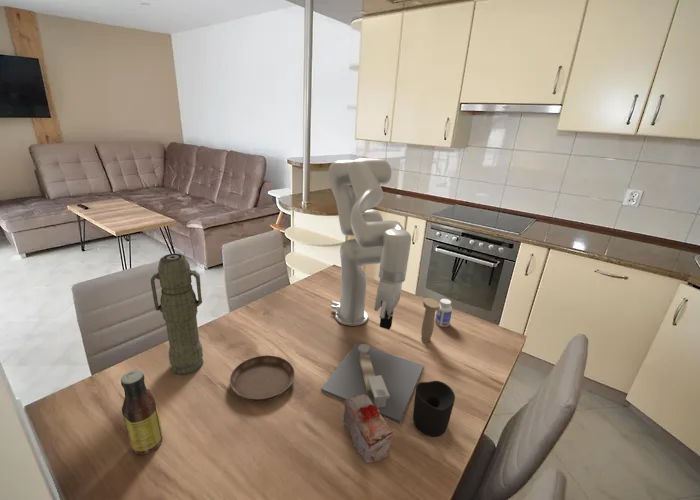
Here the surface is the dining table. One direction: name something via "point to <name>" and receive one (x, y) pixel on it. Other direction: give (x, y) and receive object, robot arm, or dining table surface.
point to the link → (366, 371)
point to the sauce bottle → (140, 414)
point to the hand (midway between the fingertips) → (385, 326)
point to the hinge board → (381, 366)
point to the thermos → (179, 312)
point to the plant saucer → (262, 378)
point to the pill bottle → (444, 313)
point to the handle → (429, 318)
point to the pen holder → (432, 407)
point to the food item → (367, 428)
